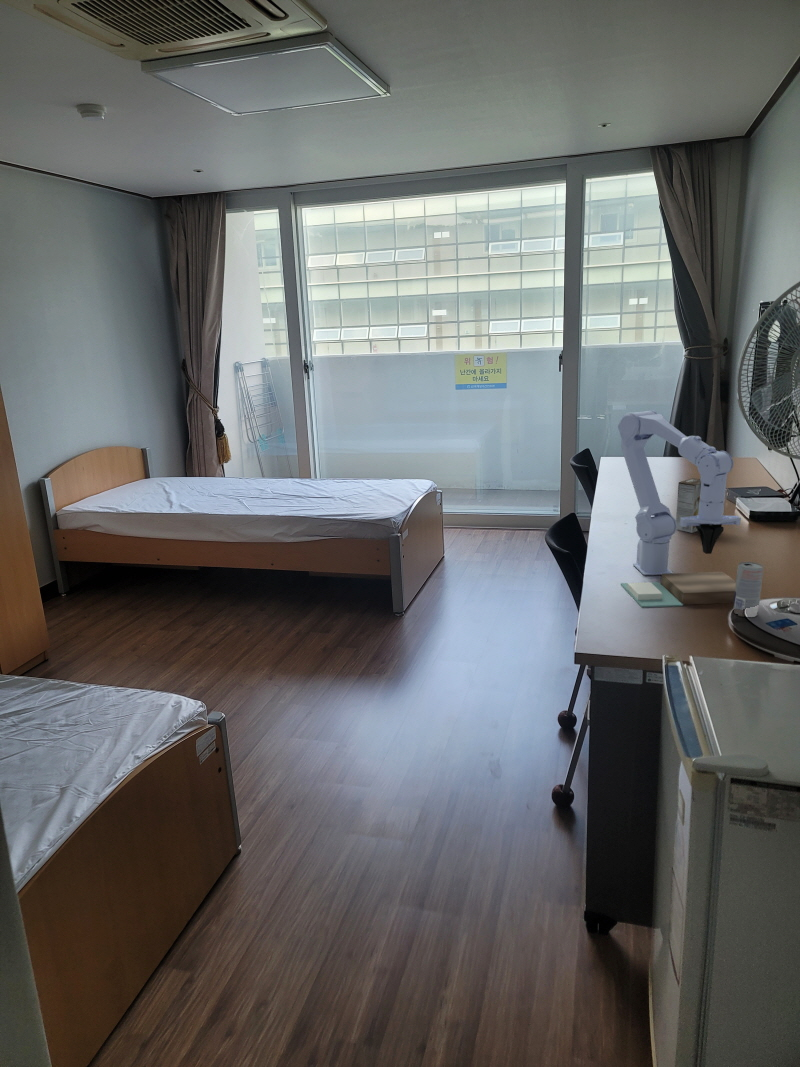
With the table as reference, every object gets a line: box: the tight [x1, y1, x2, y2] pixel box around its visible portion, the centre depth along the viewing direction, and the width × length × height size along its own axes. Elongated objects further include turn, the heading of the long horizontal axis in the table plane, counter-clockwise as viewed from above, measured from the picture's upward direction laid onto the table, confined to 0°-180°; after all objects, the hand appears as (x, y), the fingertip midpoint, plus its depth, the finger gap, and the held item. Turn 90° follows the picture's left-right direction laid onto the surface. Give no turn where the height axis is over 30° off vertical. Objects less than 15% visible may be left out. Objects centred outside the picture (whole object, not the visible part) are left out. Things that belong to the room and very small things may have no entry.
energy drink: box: [732, 561, 764, 610], centre depth 168 cm, size 5×5×12 cm
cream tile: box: [626, 581, 662, 600], centre depth 182 cm, size 8×6×2 cm
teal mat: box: [620, 581, 684, 608], centre depth 182 cm, size 16×10×1 cm, turn 1°
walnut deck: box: [660, 571, 736, 605], centre depth 182 cm, size 14×16×3 cm
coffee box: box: [675, 477, 701, 534], centre depth 237 cm, size 9×6×16 cm
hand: (707, 552), depth 184 cm, fingers closed
